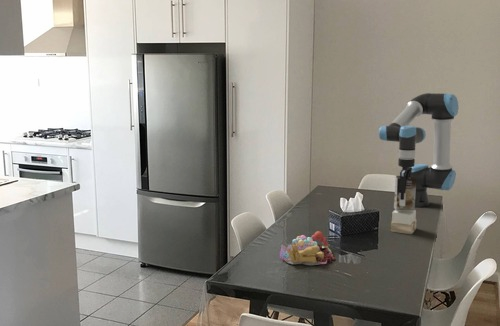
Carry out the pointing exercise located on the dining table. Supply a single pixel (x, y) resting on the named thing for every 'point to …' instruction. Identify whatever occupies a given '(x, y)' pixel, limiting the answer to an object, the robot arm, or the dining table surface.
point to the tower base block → (403, 227)
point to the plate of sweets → (307, 251)
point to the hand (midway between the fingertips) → (404, 203)
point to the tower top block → (403, 216)
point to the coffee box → (409, 192)
